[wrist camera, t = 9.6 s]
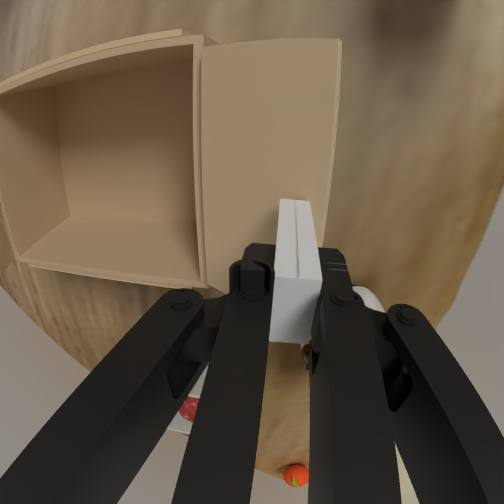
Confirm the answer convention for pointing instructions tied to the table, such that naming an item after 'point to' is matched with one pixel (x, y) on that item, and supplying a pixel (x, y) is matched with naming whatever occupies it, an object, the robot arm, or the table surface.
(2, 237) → the flap far
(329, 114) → the flap near
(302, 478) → the clementine
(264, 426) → the table surface
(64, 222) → the carton
